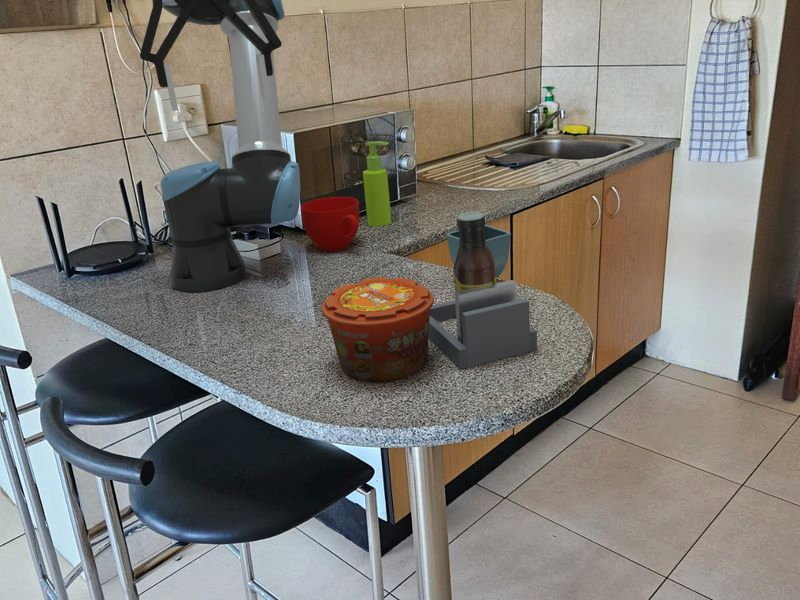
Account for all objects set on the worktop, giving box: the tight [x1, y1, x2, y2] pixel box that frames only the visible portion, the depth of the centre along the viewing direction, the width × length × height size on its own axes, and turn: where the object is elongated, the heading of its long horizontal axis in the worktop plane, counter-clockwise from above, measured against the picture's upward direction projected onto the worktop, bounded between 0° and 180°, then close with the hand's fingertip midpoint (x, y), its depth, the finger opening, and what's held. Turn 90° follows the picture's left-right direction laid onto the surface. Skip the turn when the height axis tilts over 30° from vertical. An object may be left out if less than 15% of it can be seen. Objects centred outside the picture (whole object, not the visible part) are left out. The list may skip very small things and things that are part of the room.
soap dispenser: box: [362, 140, 392, 227], centre depth 168 cm, size 6×7×20 cm
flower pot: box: [445, 224, 512, 279], centre depth 129 cm, size 9×9×9 cm
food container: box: [321, 276, 435, 383], centre depth 100 cm, size 16×16×11 cm
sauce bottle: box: [452, 211, 498, 293], centre depth 102 cm, size 7×6×20 cm
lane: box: [428, 298, 538, 370], centre depth 106 cm, size 18×12×8 cm
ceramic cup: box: [300, 196, 360, 252], centre depth 153 cm, size 13×17×10 cm
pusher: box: [454, 279, 518, 344], centre depth 101 cm, size 1×9×10 cm, turn 111°
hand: (221, 104), depth 104 cm, fingers open, 13 cm apart
